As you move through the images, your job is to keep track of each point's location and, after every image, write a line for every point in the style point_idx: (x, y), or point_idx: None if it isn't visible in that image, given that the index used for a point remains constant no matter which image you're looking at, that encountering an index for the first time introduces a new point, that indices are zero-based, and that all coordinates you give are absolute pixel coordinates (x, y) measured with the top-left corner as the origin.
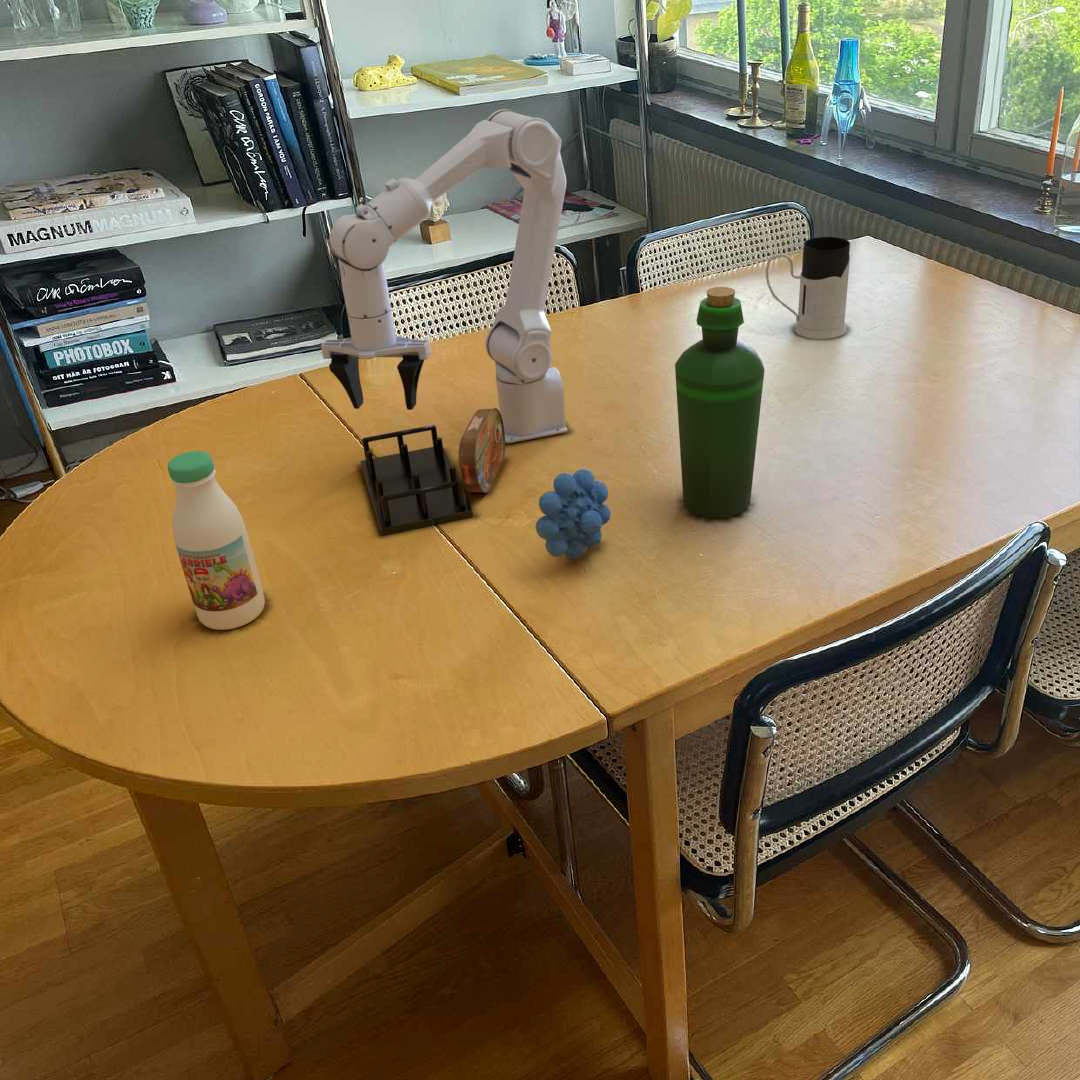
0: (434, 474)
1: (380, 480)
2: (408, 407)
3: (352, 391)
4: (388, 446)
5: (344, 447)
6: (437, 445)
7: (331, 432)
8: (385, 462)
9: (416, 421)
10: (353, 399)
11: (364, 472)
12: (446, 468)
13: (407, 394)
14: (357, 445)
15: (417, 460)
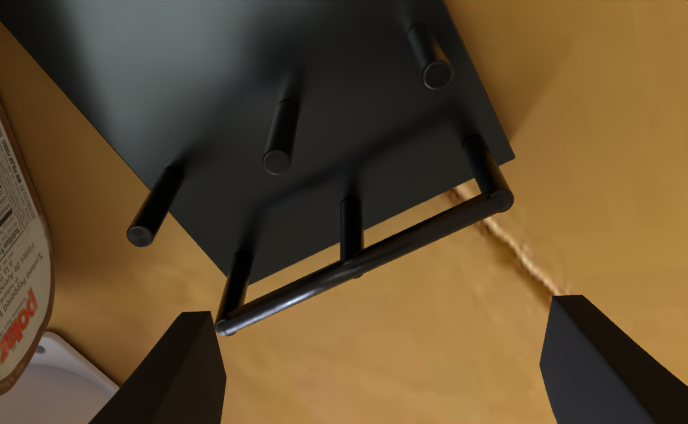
0: (156, 85)
1: (372, 1)
2: (193, 321)
3: (630, 389)
4: (447, 284)
5: (606, 265)
6: (154, 212)
7: (670, 342)
8: (405, 155)
9: (405, 414)
10: (604, 338)
11: (470, 64)
12: (132, 137)
13: (142, 394)
14: (561, 280)
15: (280, 183)
